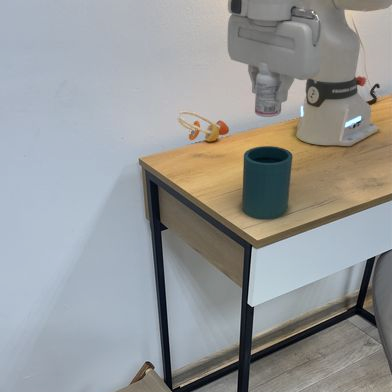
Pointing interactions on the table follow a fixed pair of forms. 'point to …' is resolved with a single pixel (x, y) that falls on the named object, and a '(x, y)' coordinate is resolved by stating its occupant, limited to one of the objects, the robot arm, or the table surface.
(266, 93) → the pill bottle
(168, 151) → the table surface
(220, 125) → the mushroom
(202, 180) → the table surface
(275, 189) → the jar
